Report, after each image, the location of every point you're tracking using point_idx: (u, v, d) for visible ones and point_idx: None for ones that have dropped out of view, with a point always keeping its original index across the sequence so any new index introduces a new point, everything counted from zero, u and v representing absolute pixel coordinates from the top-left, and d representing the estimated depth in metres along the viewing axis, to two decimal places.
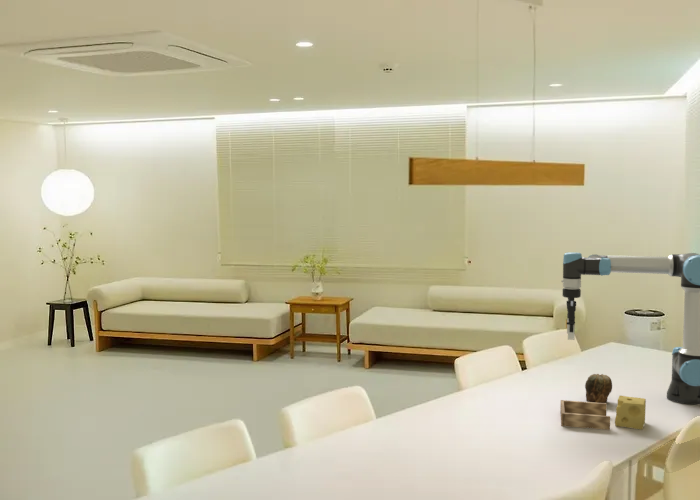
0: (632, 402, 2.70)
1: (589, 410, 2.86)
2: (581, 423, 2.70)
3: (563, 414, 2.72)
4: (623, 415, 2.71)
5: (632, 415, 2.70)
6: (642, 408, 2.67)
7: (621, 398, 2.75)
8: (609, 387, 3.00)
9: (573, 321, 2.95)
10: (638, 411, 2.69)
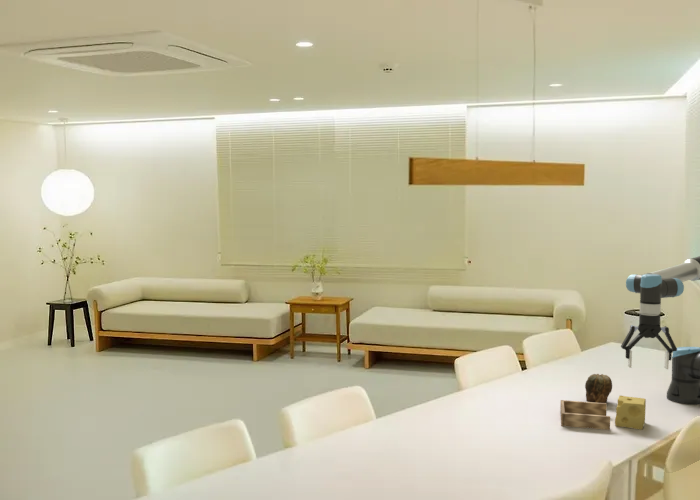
0: (632, 402, 2.70)
1: (589, 410, 2.86)
2: (581, 423, 2.70)
3: (563, 414, 2.72)
4: (623, 415, 2.71)
5: (632, 415, 2.70)
6: (642, 408, 2.67)
7: (621, 398, 2.75)
8: (609, 387, 3.00)
9: (622, 345, 2.75)
10: (638, 411, 2.69)
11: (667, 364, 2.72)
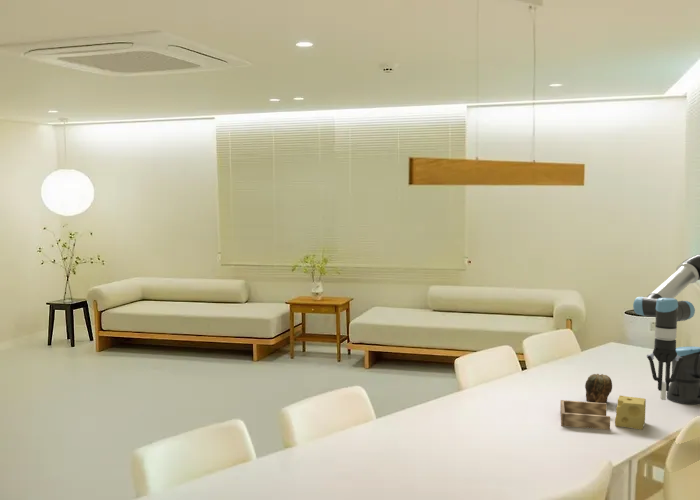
0: (632, 402, 2.70)
1: (589, 410, 2.86)
2: (581, 423, 2.70)
3: (563, 414, 2.72)
4: (623, 415, 2.71)
5: (632, 415, 2.70)
6: (642, 408, 2.67)
7: (621, 398, 2.75)
8: (609, 387, 3.00)
9: None
10: (638, 411, 2.69)
11: (664, 395, 2.69)
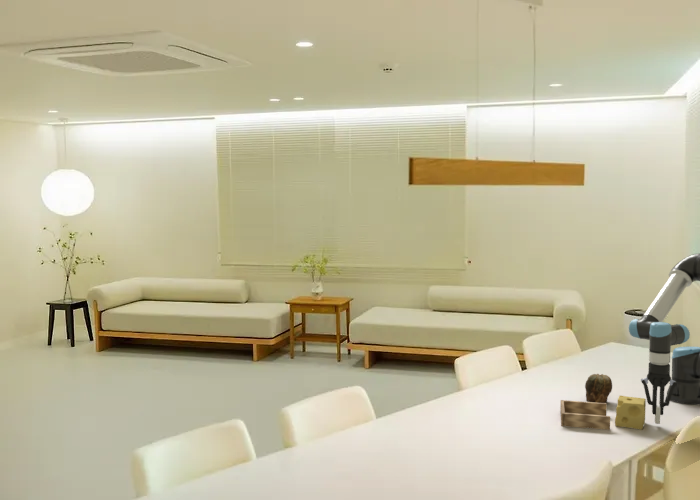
0: (632, 402, 2.70)
1: (589, 410, 2.86)
2: (581, 423, 2.70)
3: (563, 414, 2.72)
4: (623, 415, 2.71)
5: (632, 415, 2.70)
6: (642, 408, 2.67)
7: (621, 398, 2.75)
8: (609, 387, 3.00)
9: None
10: (638, 411, 2.69)
11: (659, 419, 2.70)
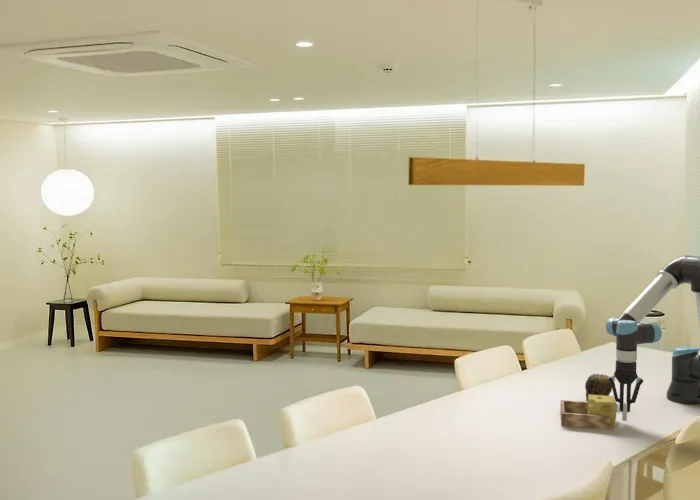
0: (604, 401, 2.72)
1: None
2: (581, 423, 2.70)
3: (563, 414, 2.72)
4: (596, 414, 2.72)
5: (604, 413, 2.71)
6: (614, 406, 2.69)
7: (591, 397, 2.76)
8: (609, 387, 3.00)
9: None
10: (610, 409, 2.71)
11: (625, 416, 2.73)
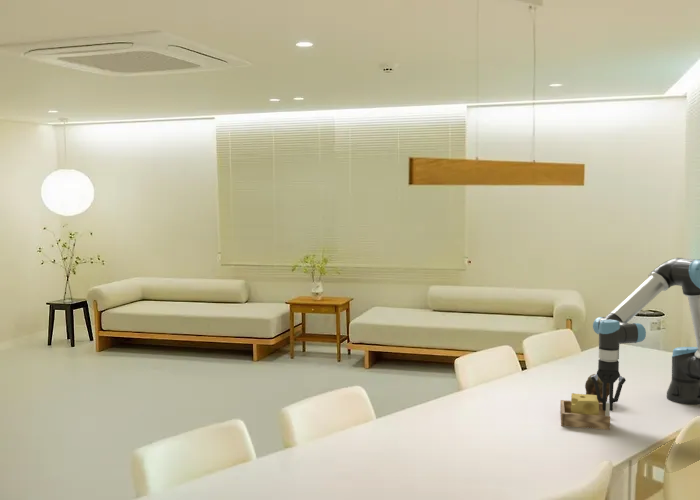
0: (586, 399, 2.73)
1: None
2: (581, 423, 2.70)
3: (563, 414, 2.72)
4: (578, 413, 2.73)
5: (587, 412, 2.73)
6: (597, 405, 2.71)
7: (574, 396, 2.78)
8: None
9: None
10: (592, 408, 2.73)
11: (608, 415, 2.75)
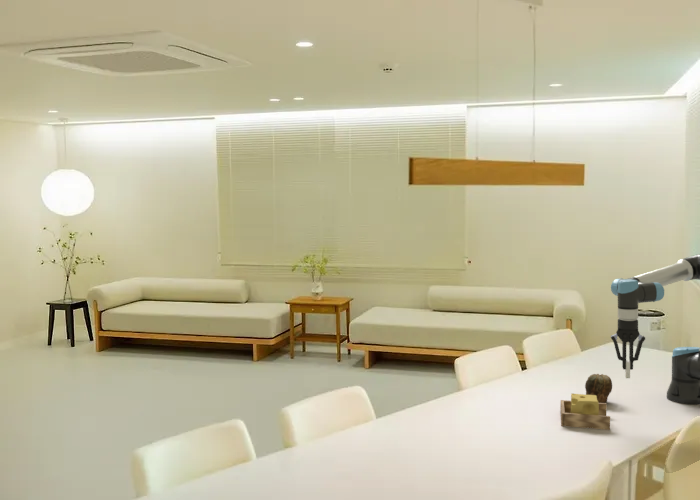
0: (586, 400, 2.73)
1: None
2: (581, 423, 2.70)
3: (563, 414, 2.72)
4: (578, 413, 2.73)
5: (587, 412, 2.73)
6: (596, 405, 2.71)
7: (574, 396, 2.78)
8: (609, 387, 3.00)
9: None
10: (592, 408, 2.73)
11: (629, 373, 2.77)
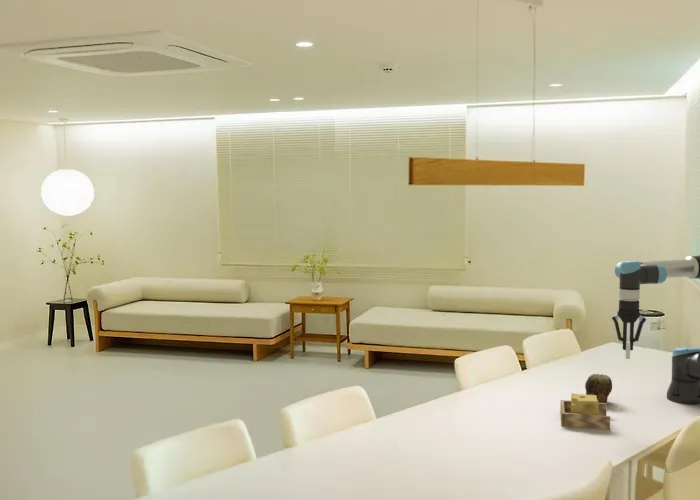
0: (586, 400, 2.73)
1: None
2: (581, 423, 2.70)
3: (563, 414, 2.72)
4: (578, 413, 2.73)
5: (587, 412, 2.73)
6: (596, 405, 2.71)
7: (574, 396, 2.78)
8: (609, 387, 3.00)
9: None
10: (592, 408, 2.73)
11: (628, 354, 2.79)
